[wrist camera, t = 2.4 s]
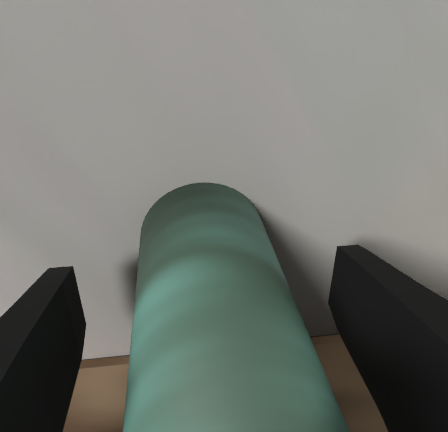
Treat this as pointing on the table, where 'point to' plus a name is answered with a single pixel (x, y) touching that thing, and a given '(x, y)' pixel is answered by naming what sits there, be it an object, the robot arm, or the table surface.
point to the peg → (219, 326)
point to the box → (118, 375)
